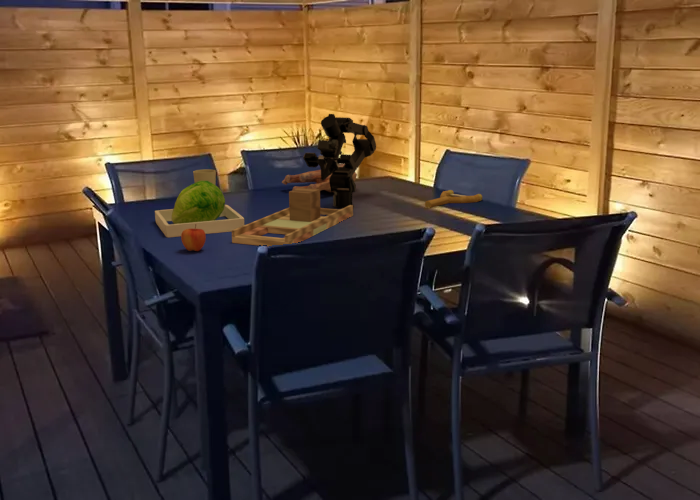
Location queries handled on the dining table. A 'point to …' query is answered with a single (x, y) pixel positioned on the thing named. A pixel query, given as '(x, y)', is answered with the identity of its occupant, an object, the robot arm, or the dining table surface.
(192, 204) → the lettuce
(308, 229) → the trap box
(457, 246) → the dining table surface
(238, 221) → the lettuce crate rim
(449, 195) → the slingshot
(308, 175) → the sculpture
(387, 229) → the dining table surface
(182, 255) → the dining table surface
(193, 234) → the apple
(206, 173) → the mug
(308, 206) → the walnut block
